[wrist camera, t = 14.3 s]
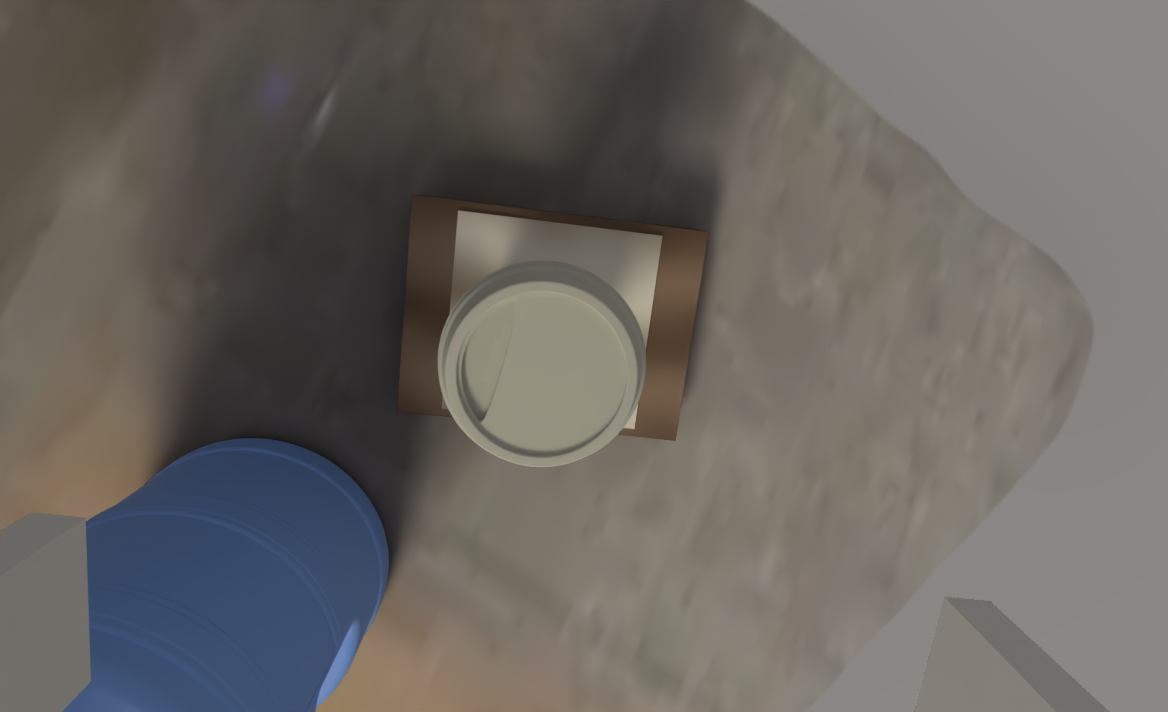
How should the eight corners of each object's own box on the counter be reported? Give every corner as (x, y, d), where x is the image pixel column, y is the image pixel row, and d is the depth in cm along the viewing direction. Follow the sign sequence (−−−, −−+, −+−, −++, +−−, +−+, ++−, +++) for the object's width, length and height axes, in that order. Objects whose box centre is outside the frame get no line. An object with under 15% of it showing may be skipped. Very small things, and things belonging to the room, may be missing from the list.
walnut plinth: (421, 195, 40) (411, 194, 37) (698, 230, 41) (709, 232, 38) (407, 397, 42) (396, 412, 39) (668, 425, 43) (676, 441, 40)
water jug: (94, 479, 43) (-720, 972, 16) (335, 398, 42) (-70, 762, 15) (205, 689, 46) (-303, 1397, 19) (429, 617, 46) (239, 1238, 18)
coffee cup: (551, 210, 37) (551, 217, 26) (653, 328, 39) (697, 386, 27) (434, 314, 38) (382, 367, 27) (538, 426, 40) (533, 521, 28)
